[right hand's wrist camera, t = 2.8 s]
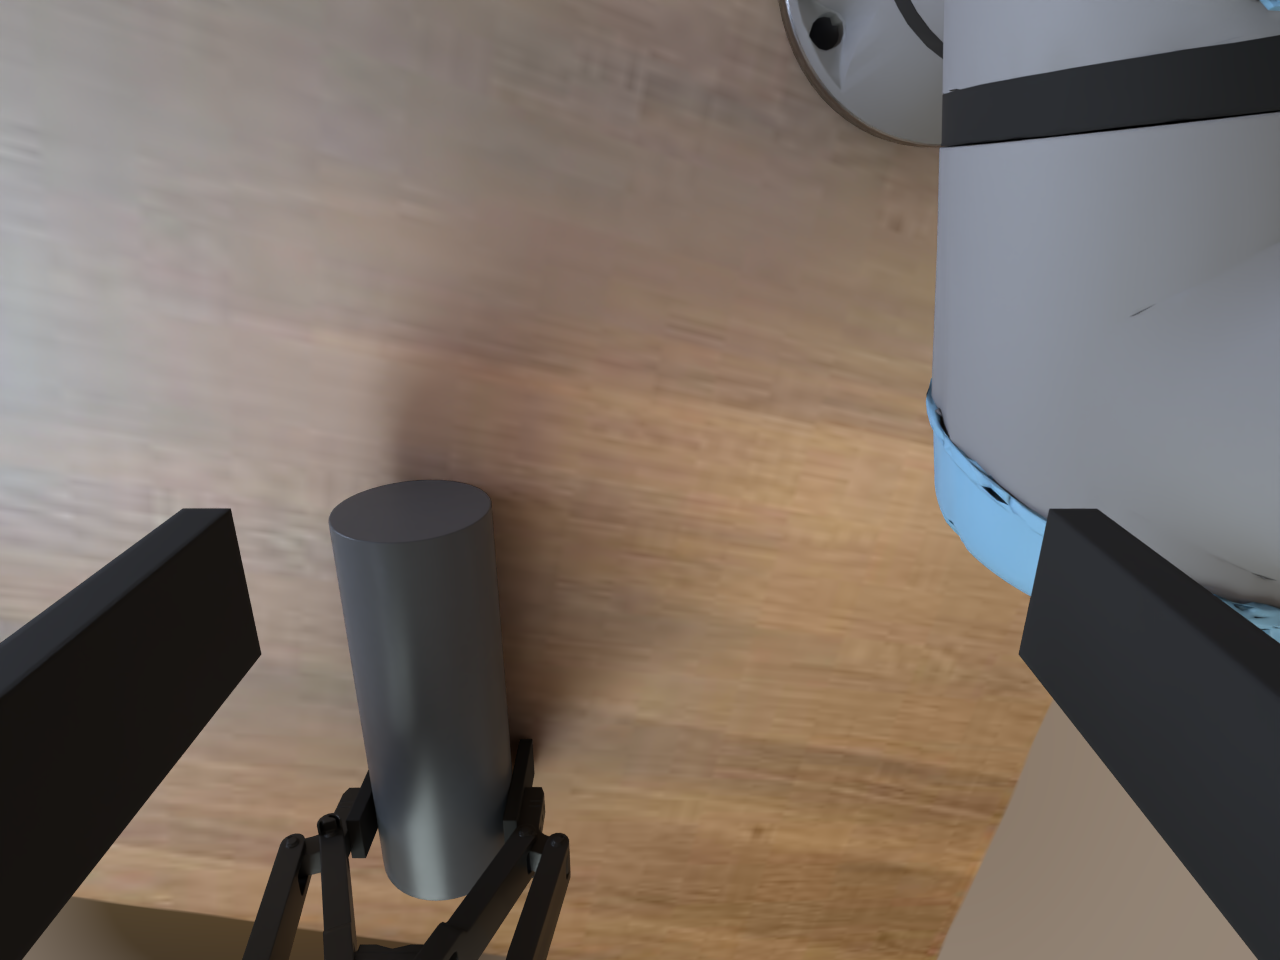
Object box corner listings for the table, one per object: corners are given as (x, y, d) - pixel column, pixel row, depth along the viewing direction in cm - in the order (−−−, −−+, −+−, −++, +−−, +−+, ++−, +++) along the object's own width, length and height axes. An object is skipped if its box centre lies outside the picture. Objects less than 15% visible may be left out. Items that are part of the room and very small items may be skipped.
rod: (359, 479, 42) (302, 542, 35) (503, 479, 42) (474, 542, 35) (405, 796, 50) (365, 901, 43) (525, 796, 50) (506, 901, 43)
